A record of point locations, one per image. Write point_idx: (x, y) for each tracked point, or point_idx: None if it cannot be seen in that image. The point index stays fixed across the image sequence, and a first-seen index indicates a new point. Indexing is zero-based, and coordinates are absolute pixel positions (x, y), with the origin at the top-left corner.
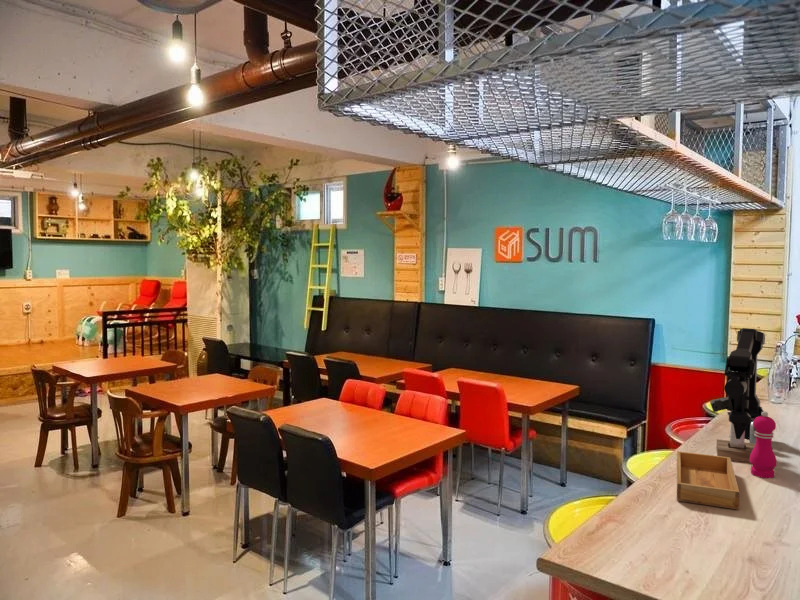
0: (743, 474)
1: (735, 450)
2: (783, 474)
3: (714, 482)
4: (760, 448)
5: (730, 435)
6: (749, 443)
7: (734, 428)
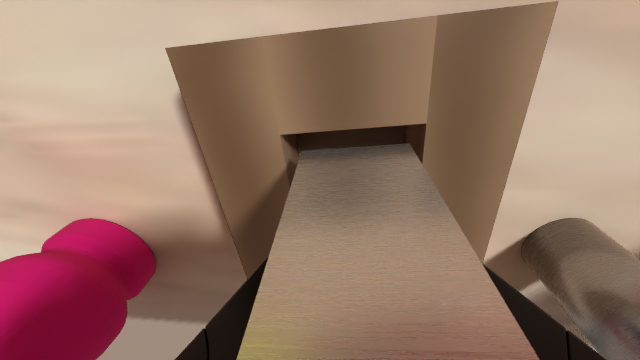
0: (38, 191)
1: (238, 181)
2: (182, 303)
3: None
4: None
5: (370, 193)
6: None
7: (183, 352)
